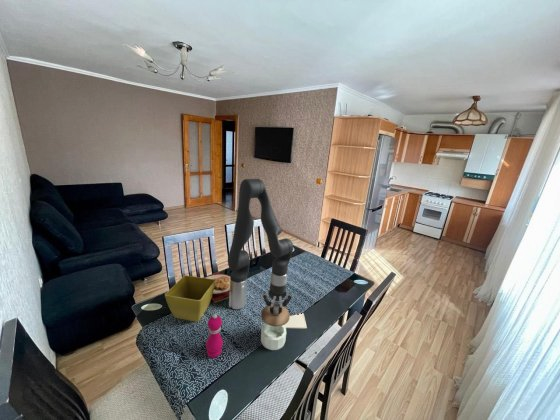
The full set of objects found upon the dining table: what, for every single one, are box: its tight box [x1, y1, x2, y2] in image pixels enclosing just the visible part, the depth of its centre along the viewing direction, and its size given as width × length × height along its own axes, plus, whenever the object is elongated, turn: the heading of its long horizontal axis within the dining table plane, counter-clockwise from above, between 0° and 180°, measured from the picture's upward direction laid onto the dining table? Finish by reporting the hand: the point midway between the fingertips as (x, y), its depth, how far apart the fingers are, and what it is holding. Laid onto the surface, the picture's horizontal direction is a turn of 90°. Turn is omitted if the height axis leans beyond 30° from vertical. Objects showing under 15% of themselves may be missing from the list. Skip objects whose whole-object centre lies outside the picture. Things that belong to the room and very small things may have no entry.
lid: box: [260, 302, 291, 327], centre depth 106 cm, size 14×14×6 cm
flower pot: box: [164, 275, 215, 323], centre depth 121 cm, size 19×19×17 cm
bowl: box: [260, 322, 287, 351], centre depth 110 cm, size 12×12×6 cm
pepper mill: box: [205, 313, 224, 358], centre depth 99 cm, size 7×7×20 cm
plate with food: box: [204, 271, 230, 302], centre depth 143 cm, size 24×26×4 cm
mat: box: [284, 312, 308, 330], centre depth 126 cm, size 15×15×1 cm
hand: (275, 312), depth 107 cm, fingers closed on lid, 3 cm apart
